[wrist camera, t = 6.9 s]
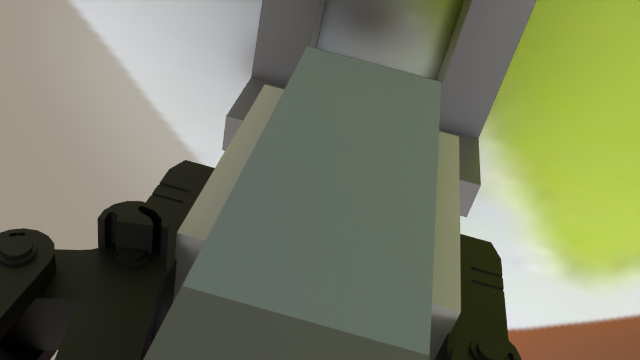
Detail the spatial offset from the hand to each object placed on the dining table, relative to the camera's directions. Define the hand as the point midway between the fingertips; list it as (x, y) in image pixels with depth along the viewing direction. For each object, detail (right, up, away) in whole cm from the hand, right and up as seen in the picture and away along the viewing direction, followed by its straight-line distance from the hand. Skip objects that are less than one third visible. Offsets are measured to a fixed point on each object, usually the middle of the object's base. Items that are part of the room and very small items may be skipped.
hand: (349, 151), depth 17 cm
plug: (0, +1, +1) cm, 2 cm away
